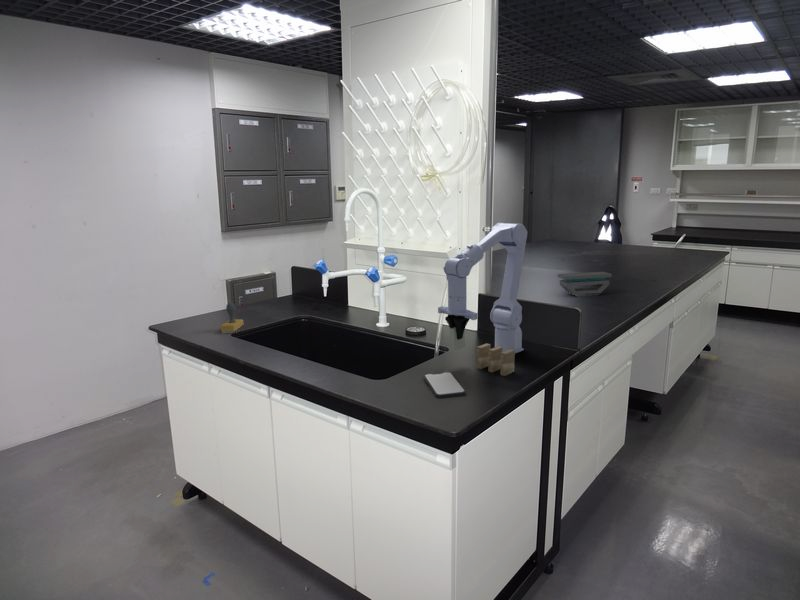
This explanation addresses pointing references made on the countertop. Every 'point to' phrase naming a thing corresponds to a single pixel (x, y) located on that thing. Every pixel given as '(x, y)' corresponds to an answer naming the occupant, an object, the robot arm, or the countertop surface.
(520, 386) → the countertop surface
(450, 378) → the phone case
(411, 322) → the countertop surface
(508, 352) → the maple domino
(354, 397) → the countertop surface
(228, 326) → the rubber stamp
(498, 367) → the maple domino
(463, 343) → the domino sage
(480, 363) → the maple domino
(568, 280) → the sharpening stone
